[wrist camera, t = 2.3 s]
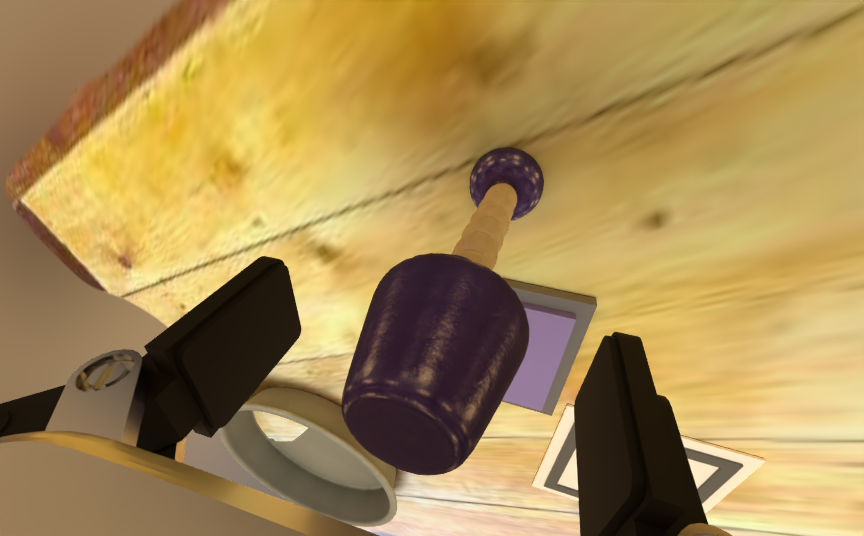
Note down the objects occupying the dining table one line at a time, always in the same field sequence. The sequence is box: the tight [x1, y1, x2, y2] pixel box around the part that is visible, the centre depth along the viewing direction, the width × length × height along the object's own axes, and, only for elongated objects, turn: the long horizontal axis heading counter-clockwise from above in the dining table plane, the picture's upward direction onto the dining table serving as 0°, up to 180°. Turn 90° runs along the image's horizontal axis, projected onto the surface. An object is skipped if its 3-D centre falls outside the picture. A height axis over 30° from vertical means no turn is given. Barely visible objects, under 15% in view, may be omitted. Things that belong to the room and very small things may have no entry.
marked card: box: [532, 404, 765, 513], centre depth 31 cm, size 14×14×1 cm
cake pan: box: [218, 387, 397, 527], centre depth 45 cm, size 25×25×4 cm
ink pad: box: [502, 279, 597, 416], centre depth 27 cm, size 12×12×1 cm
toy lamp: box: [342, 148, 544, 475], centre depth 14 cm, size 5×5×17 cm
